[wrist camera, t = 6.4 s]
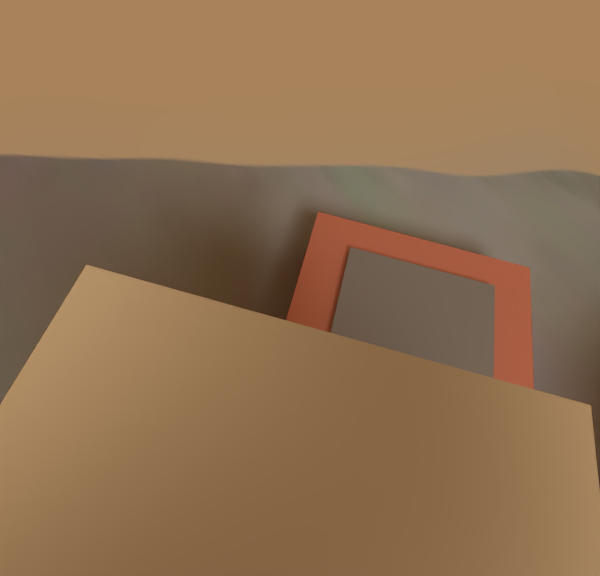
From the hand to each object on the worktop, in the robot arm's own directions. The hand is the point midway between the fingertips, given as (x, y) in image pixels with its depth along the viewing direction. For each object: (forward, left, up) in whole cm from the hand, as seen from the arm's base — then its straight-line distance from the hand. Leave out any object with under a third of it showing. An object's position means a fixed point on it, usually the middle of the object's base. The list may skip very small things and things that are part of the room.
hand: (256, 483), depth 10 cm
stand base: (+4, +7, -7) cm, 11 cm away
